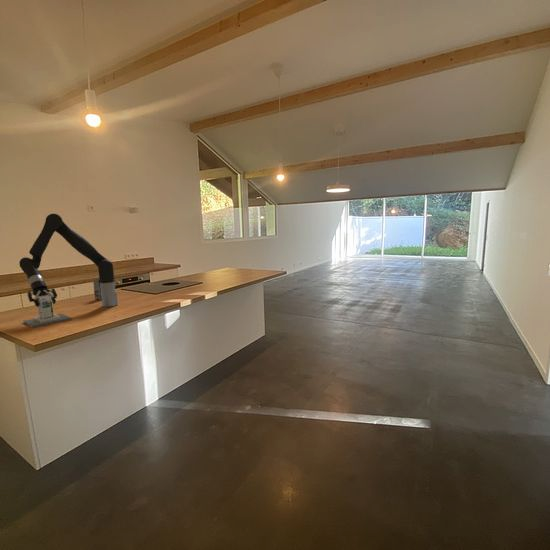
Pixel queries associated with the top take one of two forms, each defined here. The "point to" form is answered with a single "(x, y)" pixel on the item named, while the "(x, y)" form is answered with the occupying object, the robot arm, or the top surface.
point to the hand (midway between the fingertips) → (46, 304)
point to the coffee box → (97, 289)
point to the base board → (46, 320)
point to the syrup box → (45, 307)
